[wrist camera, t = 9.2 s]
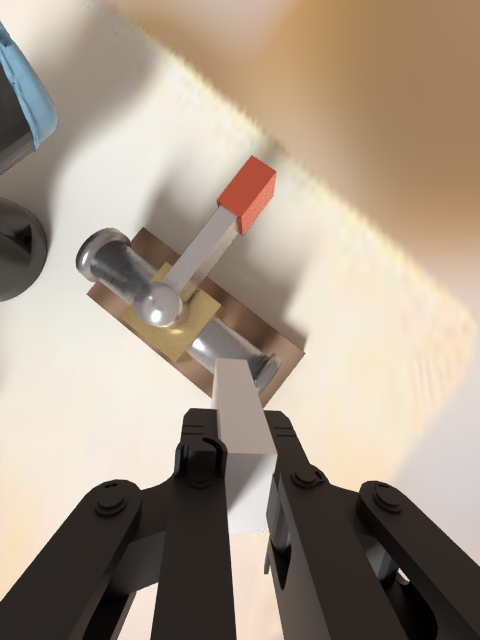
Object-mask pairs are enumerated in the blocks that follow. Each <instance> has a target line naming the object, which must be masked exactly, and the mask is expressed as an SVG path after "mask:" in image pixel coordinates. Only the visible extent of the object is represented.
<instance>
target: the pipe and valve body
mask: <svg viewBox="0 0 480 640" xmlns="http://www.w3.org/2000/svg"><path fill="white" fill-rule="evenodd" d="M76 268H77V270H78V272H79V273H80V274H82V275H83V276H84V277H85V278H87V279H88V280H89V281H91V282H102V283H103V284H104V285H105V286H107V287H108V288H109V289H110V290H111V291H113V292H114V293H115V294H116V295H117V296H119V297H120V298H121V299H122V300H124V301H125V302H126V303H127V304H128V305H130V306H129V307H128V308H127V309H126V310H125V312H124V313H123V314H122V315H121V317H120V318H121V319H123V320H124V321H125V322H126V323H127V324H129V325H130V326H131V327H132V328H134V329H135V330H136V331H137V332H138V333H140V334H141V335H142V336H143V337H144V338H146V339H147V340H148V341H149V342H150V343H152V344H153V345H154V346H155V347H156V348H158V349H159V350H160V351H161V352H162V353H164V354H165V355H166V356H167V357H168V358H170V359H171V360H172V361H173V362H174V363H178V362H187V361H191V360H192V359H193V358H194V359H195V360H197V361H198V362H199V363H200V364H202V365H203V366H204V367H205V368H206V369H208V370H209V371H210V372H211V373H213V374H214V373H215V363H216V358H227V359H242V360H247V363H248V366H249V369H250V372H251V375H252V378H253V381H254V384H255V387H256V390H257V393H258V396H260V395H261V393H262V392H263V391H264V390H265V388H266V387H267V386H268V384H269V383H270V382H271V380H272V379H273V377H274V376H275V375H276V373H277V372H278V370H279V368H280V367H281V365H282V363H283V359H281V358H280V357H279V356H278V355H276V354H275V353H273V354H272V355H271V356H270V357H268V356H267V355H266V354H264V353H263V352H262V351H260V350H259V349H258V348H257V347H255V346H254V345H253V344H252V343H250V342H249V341H248V340H247V339H245V338H244V337H243V336H242V335H240V334H239V333H238V332H236V331H235V330H234V329H233V328H231V327H230V326H229V325H228V324H226V323H225V322H224V321H223V320H224V319H225V318H226V316H227V313H226V311H225V310H224V308H223V307H222V305H221V304H220V303H218V302H217V301H216V300H214V299H213V298H212V297H211V296H209V295H208V294H207V293H206V292H204V291H203V290H202V289H200V288H199V287H197V288H196V290H195V291H194V292H193V294H192V295H191V296H190V298H189V299H188V300H187V305H188V315H187V318H186V320H185V322H184V323H183V324H182V325H181V326H179V327H177V328H175V329H163V328H159V327H156V326H152V325H149V324H146V323H144V322H143V321H141V320H140V319H139V318H138V316H137V315H136V313H135V310H134V298H135V295H136V294H137V292H138V290H139V289H140V288H141V287H142V286H144V285H145V284H147V283H150V282H161V281H162V280H163V279H164V277H165V276H166V275H167V274H168V272H169V271H170V270H171V268H172V266H171V265H170V264H169V263H167V262H165V264H164V265H163V266H162V267H161V268H160V270H158V269H157V268H156V267H154V266H153V265H152V264H151V263H149V262H148V261H147V260H145V259H144V258H143V257H142V256H140V255H139V254H138V253H137V252H135V251H134V250H133V249H132V248H131V243H130V240H129V239H128V237H126V236H125V235H124V234H123V233H121V232H120V231H119V230H117V229H114V228H106V229H102V230H100V231H98V232H96V233H94V234H93V235H91V236H90V237H89V238H88V239H87V240H86V241H85V242H84V243H83V245H82V246H81V248H80V250H79V251H78V254H77V257H76Z"/></svg>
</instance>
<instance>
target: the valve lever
mask: <svg viewBox="0 0 480 640" xmlns="http://www.w3.org/2000/svg"><path fill="white" fill-rule="evenodd" d="M275 179H276V171H275V170H274V169H272V168H270V167H269V166H267V165H266V164H264V163H263V162H261V161H260V160H258V159H257V158H255V157H254V156H251V157H250V158H249V159H248V161H247V162H246V163H245V165H244V166H243V167H242V168H241V170H240V171H239V172H238V174H237V175H236V176H235V177H234V179H233V180H232V181H231V183H230V184H229V185H228V186H227V188H226V189H225V190H224V192H223V193H222V194H221V195H220V197H219V198H218V199H217V204H218V209H217V210H216V212H215V213H214V214H213V215H212V217H211V218H210V219H209V221H208V222H207V223H206V225H205V226H204V227H203V228H202V230H201V231H200V232H199V234H198V235H197V236H196V237H195V239H194V240H193V241H192V243H191V244H190V245H189V246H188V248H187V249H186V250H185V252H184V253H183V254H182V255H181V257H180V258H179V259H178V261H177V262H176V263H175V264H174V266H173V267H172V268H171V270H170V271H169V272H168V274H167V275H166V276H165V277H164V279H163V280H162V281H161V282H150V283H147V284H145V285H144V286H142V287H141V288H140V289H139V290H138V292H137V294H136V295H135V298H134V310H135V313H136V315H137V316H138V318H139V319H140V320H141V321H143V322H144V323H146V324H149V325H152V326H156V327H159V328H163V329H175V328H177V327H179V326H181V325H182V324H183V323H184V322H185V320H186V318H187V315H188V305H187V300H188V299H189V298H190V296H191V295H192V294H193V292H194V291H195V290H196V288H197V287H198V286H199V285H200V283H201V282H202V281H203V279H204V278H205V277H206V275H207V274H208V273H209V271H210V270H211V269H212V267H213V266H214V265H215V264H216V262H217V261H218V260H219V258H220V257H221V256H222V254H223V253H224V252H225V250H226V249H227V248H228V247H229V245H230V244H231V243H232V241H233V240H234V239H235V237H236V236H237V235H238V233H240V234H241V235H244V234H245V232H246V231H247V230H248V228H249V227H250V226H251V224H252V223H253V222H254V221H255V219H256V218H257V217H258V215H259V214H260V213H261V211H262V210H263V209H264V207H265V206H266V205H267V203H268V202H269V201H270V200H271V198H272V197H273V194H274V186H275Z"/></svg>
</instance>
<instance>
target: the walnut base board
mask: <svg viewBox="0 0 480 640" xmlns="http://www.w3.org/2000/svg"><path fill="white" fill-rule="evenodd" d="M130 243H131V248H132V249H133V250H134V251H135V252H137V253H138V254H139V255H140V256H142V257H143V258H144V259H145V260H147V261H148V262H149V263H151V264H152V265H153V266H154V267H156V268H157V269H158V270H160V268H161V267H162V266H163V265H164V264H165V262H167V263H169V264H170V265H171V266H172V267H173V266H174V264H175V263H176V262H177V261H178V259H179V258H180V257H181V256H179V255H178V254H177V253H176V252H174V251H173V250H172V249H170V248H169V247H168V246H167V245H165V244H164V243H163V242H161V241H160V240H159V239H157V238H156V237H155V236H154V235H152V234H151V233H150V232H148V231H147V230H146V229H145V228H142V229H141V230H140V232H139V233H138V234H137V235H136V236H135V238H134V239H133V240H132V241H131V242H130ZM198 287H199V288H200V289H202V290H203V291H204V292H206V293H207V294H208V295H209V296H211V297H212V298H213V299H214V300H216V301H217V302H218V303H220V304H221V305H222V307H223V308H224V310H225V311H226V313H227V316H226V318H225V319H224V320H223V321H224V322H225V323H226V324H228V325H229V326H230V327H231V328H233V329H234V330H235V331H236V332H238V333H239V334H240V335H242V336H243V337H244V338H245V339H247V340H248V341H249V342H250V343H252V344H253V345H254V346H255V347H257V348H258V349H259V350H260V351H262V352H263V353H264V354H266V355H267V356H268V357H270V356H271V355H272V354H273V353H275V354H276V355H278V356H279V357H280V358H281V359H283V363H282V365H281V367H280V368H279V370H278V372H277V373H276V375H275V376H274V377H273V379H272V380H271V382H270V383H269V384H268V386H267V387H266V388H265V390H264V391H263V392H262V393H261V395H260V396H259V399H260V402H261V405H262V408H264V407H265V406H266V404H267V403H268V402H269V400H270V399H271V398H272V396H273V395H274V394H275V393H276V391H277V390H278V389H279V387H280V386H281V385H282V383H283V382H284V381H285V380H286V378H287V377H288V376H289V374H290V373H291V372H292V370H293V369H294V368H295V367H296V365H297V364H298V363H299V361H300V360H301V359H302V357H303V356H304V355H305V354H306V353H304V352H303V351H302V350H301V349H299V348H298V347H297V346H295V345H294V344H293V343H291V342H290V341H289V340H288V339H286V338H285V337H284V336H282V335H281V334H280V333H279V332H277V331H276V330H275V329H273V328H272V327H271V326H270V325H268V324H267V323H266V322H264V321H263V320H262V319H261V318H259V317H258V316H257V315H255V314H254V313H253V312H252V311H250V310H249V309H248V308H246V307H245V306H244V305H243V304H241V303H240V302H239V301H237V300H236V299H235V298H234V297H232V296H231V295H230V294H228V293H227V292H226V291H224V290H223V289H222V288H221V287H219V286H218V285H217V284H215V283H214V282H213V281H212V280H210V279H209V278H208V277H205V278H204V279H203V281H202V282H201V283H200V285H199V286H198ZM87 295H88V296H89V297H90V298H92V299H93V300H94V301H95V302H96V303H98V304H99V305H100V306H101V307H102V308H104V309H105V310H106V311H107V312H108V313H110V314H111V315H112V316H113V317H114V318H116V319H117V320H118V321H119V322H120V323H122V324H123V325H124V326H125V327H126V328H128V329H129V330H130V331H131V332H132V333H134V334H135V335H136V336H137V337H138V338H140V339H141V340H142V341H143V342H144V343H146V344H147V345H148V346H149V347H150V348H152V349H153V350H154V351H155V352H156V353H158V354H159V355H160V356H161V357H162V358H164V359H165V360H166V361H167V362H168V363H170V364H171V365H172V366H173V367H174V368H176V369H177V370H178V371H179V372H180V373H182V374H183V375H184V376H185V377H186V378H188V379H189V380H190V381H191V382H192V383H194V384H195V385H196V386H197V387H198V388H200V389H201V390H202V391H203V392H204V393H206V394H207V395H208V396H209V397H210V398H212V393H213V383H214V374H213V373H211V372H210V371H209V370H208V369H206V368H205V367H204V366H203V365H202V364H200V363H199V362H198V361H197V360H195V359H194V358H193V359H192V360H191V361H187V362H178V363H174V362H173V361H172V360H171V359H170V358H168V357H167V356H166V355H165V354H164V353H162V352H161V351H160V350H159V349H158V348H156V347H155V346H154V345H153V344H152V343H150V342H149V341H148V340H147V339H146V338H144V337H143V336H142V335H141V334H140V333H138V332H137V331H136V330H135V329H134V328H132V327H131V326H130V325H129V324H127V323H126V322H125V321H124V320H123V319H121V318H120V317H121V315H122V314H123V313H124V312H125V310H126V309H127V308H128V307H129V306H130V305H128V304H127V303H126V302H125V301H124V300H122V299H121V298H120V297H119V296H117V295H116V294H115V293H114V292H113V291H111V290H110V289H109V288H108V287H107V286H105V285H104V284H103V283H102V282H96V283H95V285H94V286H93V287H92V288H91V289H90V291H89V292H88V293H87Z"/></svg>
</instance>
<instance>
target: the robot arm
mask: <svg viewBox="0 0 480 640" xmlns="http://www.w3.org/2000/svg"><path fill="white" fill-rule="evenodd" d="M57 126H58V113H57V110H56V108H55V106H54V104H53V102H52V100H51V98H50V96H49V94H48V93H47V91H46V89H45V87H44V86H43V84H42V83H41V81H40V79H39V78H38V76H37V75H36V73H35V71H34V70H33V68H32V67H31V65H30V64H29V62H28V61H27V59H26V58H25V56H24V55H23V53H22V52H21V50H20V49H19V47H18V46H17V45H16V43H15V42H14V41H13V40H12V39H11V38H10V35H9V33H8V32H7V31H6V29H5V28H4V26H3V25H2V23H1V21H0V175H2V174H3V173H4V172H6V171H7V170H8V169H10V168H11V167H12V166H14V165H15V164H16V163H18V162H19V161H20V160H22V159H23V158H24V157H26V156H27V155H28V154H30V153H31V152H32V151H37V150H38V148H39V147H40V144H41V143H42V142H43V141H44V140H46V139H47V138H48V137H49V136H50V135H51V134H52V133H54V132H55V130H56V129H57ZM46 252H47V243H46V237H45V233H44V230H43V228H42V226H41V224H40V223H39V221H38V220H37V219H36V218H35V217H34V216H33V215H32V214H31V213H30V212H28V211H27V210H25V209H24V208H22V207H21V206H19V205H17V204H16V203H14V202H12V201H10V200H7V199H4V198H1V197H0V302H2V301H6V300H9V299H11V298H14V297H16V296H18V295H19V294H21V293H22V292H24V291H25V290H26V289H27V288H29V287H30V286H31V285H32V283H33V282H34V281H35V280H36V278H37V277H38V275H39V274H40V272H41V270H42V268H43V265H44V262H45V258H46ZM266 519H267V523H268V528H269V533H270V536H269V541H268V547H267V553H266V558H265V564H264V574H268V572H269V567H270V566H271V572H272V577H273V582H274V587H275V593H276V598H277V603H278V609H279V614H280V619H281V624H282V630H283V635H284V640H480V566H478V565H477V564H476V563H475V562H474V561H473V560H472V559H471V558H470V557H469V556H468V555H467V554H466V553H465V552H464V551H463V550H461V548H460V547H459V546H458V545H456V543H454V542H453V541H452V540H451V539H450V538H449V537H448V536H447V535H446V534H445V533H444V532H443V531H442V530H441V529H440V528H439V527H438V526H437V525H436V524H435V523H434V522H433V521H431V520H430V519H429V518H428V517H427V516H426V515H425V514H424V513H423V512H422V511H421V510H420V509H419V508H418V507H417V506H416V505H415V504H414V503H413V502H412V501H411V500H410V499H408V498H407V497H406V496H405V495H404V494H403V493H401V492H400V491H399V490H398V489H396V488H394V487H392V486H390V485H388V484H387V483H383V482H379V481H367V482H365V483H363V484H362V486H361V488H360V491H359V493H358V492H354V491H351V490H347V489H343V488H340V487H337V486H334V485H332V484H330V483H329V481H328V479H327V477H326V476H325V475H324V473H323V472H322V471H321V470H319V469H318V468H317V467H315V466H313V465H311V464H310V463H309V461H308V459H307V457H306V454H305V452H304V450H303V448H302V446H301V444H300V441H299V439H298V437H297V435H296V433H295V431H294V430H293V426H292V424H291V422H290V420H289V418H288V417H286V416H285V415H284V414H283V413H282V412H281V411H268V410H263V408H262V405H261V402H260V399H259V396H258V393H257V390H256V387H255V384H254V381H253V378H252V375H251V372H250V369H249V366H248V363H247V360H242V359H227V358H216V363H215V373H214V383H213V393H212V403H211V409H199V408H190V409H189V410H188V412H187V413H186V414H185V415H184V418H183V426H182V432H181V439H180V443H179V444H178V446H177V448H176V452H175V466H174V473H173V474H172V476H171V477H170V478H169V479H167V480H166V481H165V482H163V483H161V484H160V485H157V486H154V487H152V488H148V489H144V490H140V489H139V488H138V486H137V485H136V484H135V483H133V482H130V481H128V480H117V479H115V480H111V481H107V482H104V483H102V484H100V485H98V486H96V487H94V488H93V489H92V490H91V491H90V492H88V493H87V494H86V495H85V496H84V497H83V499H82V500H81V501H80V502H79V504H78V505H77V506H76V508H75V509H74V510H73V511H72V513H71V514H70V515H69V516H68V518H67V519H66V520H65V521H64V523H63V524H62V525H61V526H60V528H59V529H58V530H57V531H56V533H55V534H54V535H53V536H52V538H51V539H50V540H49V541H48V543H47V544H46V545H45V546H44V548H43V549H42V550H41V552H40V553H39V554H38V555H37V557H36V558H35V559H34V560H33V562H32V563H31V564H30V565H29V567H28V568H27V569H26V570H25V572H24V573H23V574H22V575H21V577H20V578H19V579H18V580H17V582H16V583H15V584H14V585H13V587H12V588H11V589H10V591H9V592H8V593H7V594H6V596H5V597H4V598H3V599H2V601H1V602H0V640H117V638H118V636H119V634H120V631H121V629H122V626H123V624H124V622H125V619H126V617H127V614H128V612H129V610H130V607H131V605H132V602H133V600H134V598H135V595H136V592H137V591H138V590H140V589H143V588H145V587H147V586H150V585H152V584H155V583H157V582H159V583H158V590H157V596H156V603H155V610H154V617H153V624H152V631H151V638H150V640H237V638H236V624H235V611H234V597H233V584H232V570H231V556H230V543H229V534H244V533H264V531H265V525H266ZM399 568H400V569H401V570H402V571H403V573H404V574H405V575H406V576H407V578H408V579H409V580H410V581H409V582H408V581H406V580H405V579H404V578H403V577H402V576H401V575H400V574H399V572H398V570H399Z"/></svg>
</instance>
